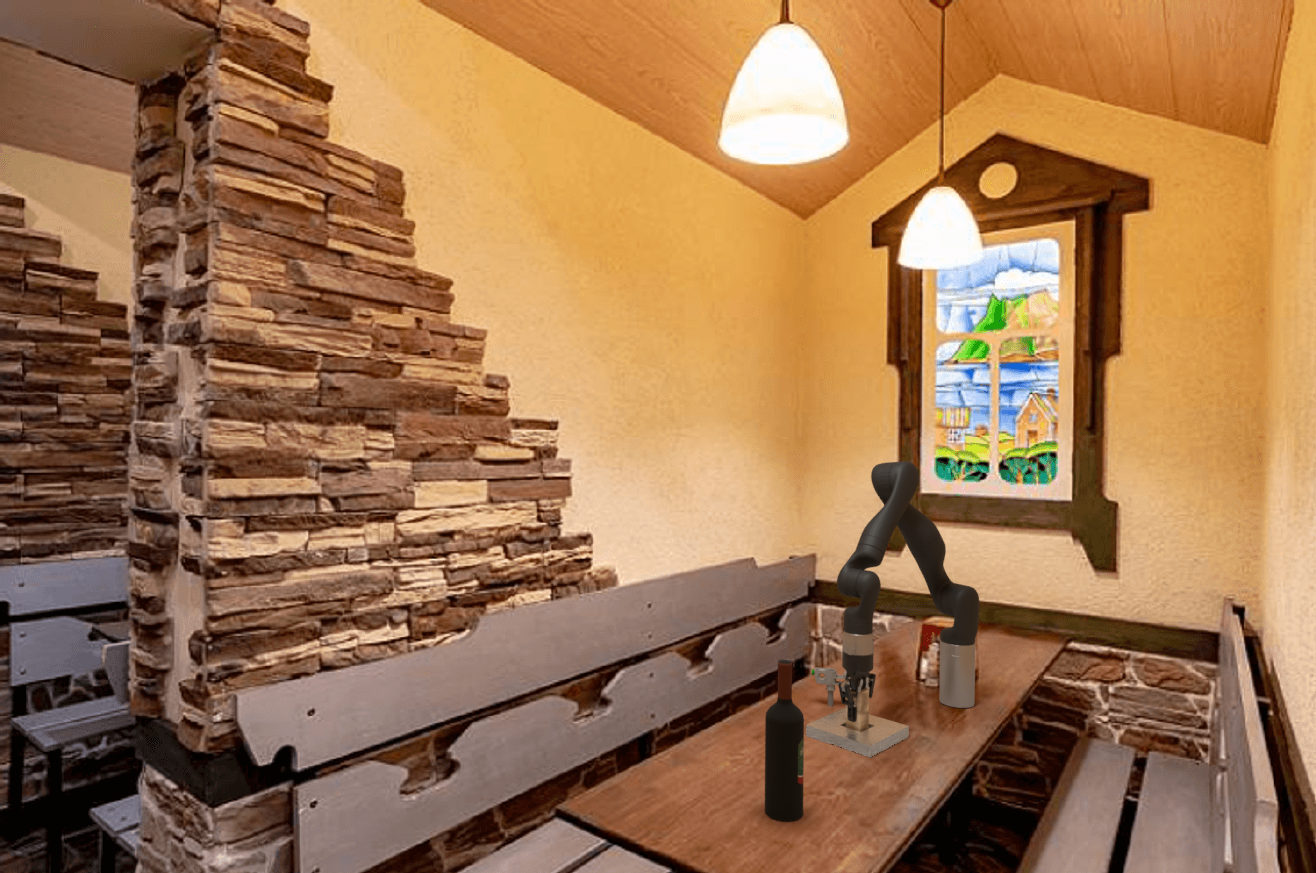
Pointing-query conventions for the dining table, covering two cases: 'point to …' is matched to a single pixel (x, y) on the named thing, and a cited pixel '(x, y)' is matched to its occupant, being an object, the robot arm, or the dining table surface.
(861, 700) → the wooden block
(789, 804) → the wine bottle
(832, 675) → the mechanical component
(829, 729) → the square slotted board
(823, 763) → the dining table surface
